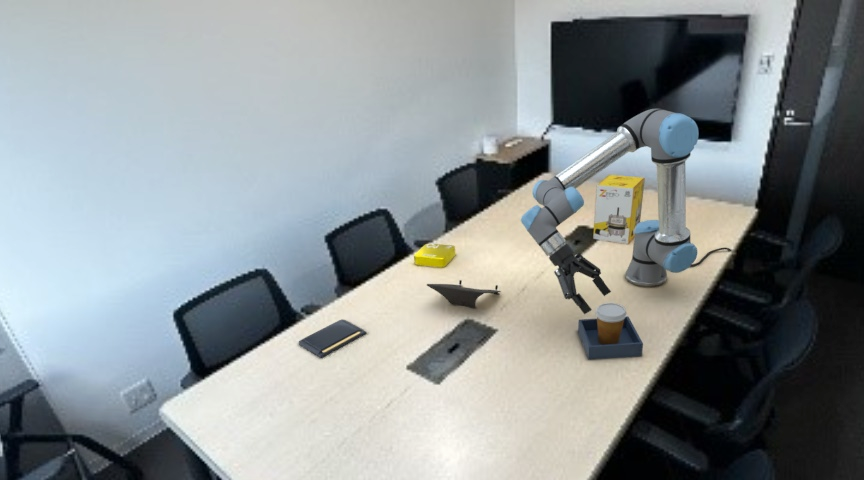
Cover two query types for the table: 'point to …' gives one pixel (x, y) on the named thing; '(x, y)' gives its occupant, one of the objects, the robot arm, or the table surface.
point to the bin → (594, 350)
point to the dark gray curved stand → (461, 293)
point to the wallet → (331, 338)
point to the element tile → (434, 255)
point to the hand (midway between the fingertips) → (598, 302)
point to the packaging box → (618, 208)
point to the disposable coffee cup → (610, 322)
